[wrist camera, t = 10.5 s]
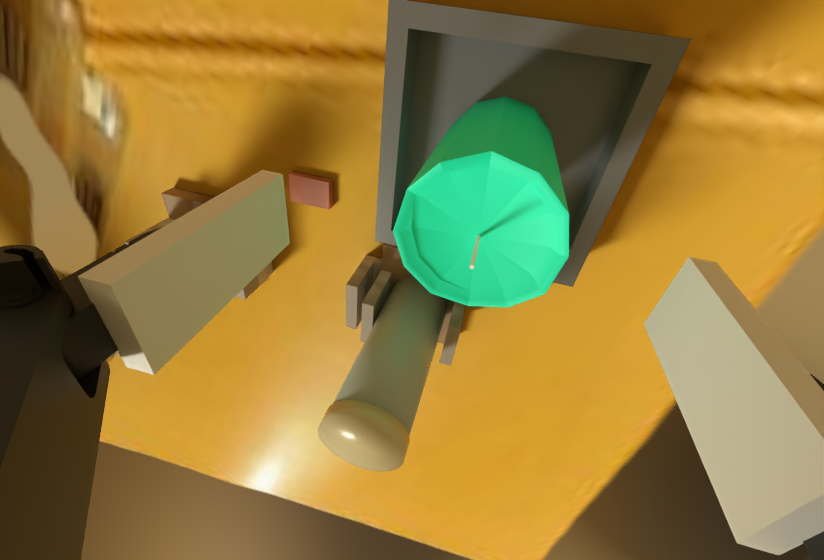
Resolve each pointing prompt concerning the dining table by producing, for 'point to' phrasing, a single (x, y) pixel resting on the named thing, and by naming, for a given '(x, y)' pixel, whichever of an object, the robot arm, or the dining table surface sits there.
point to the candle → (487, 209)
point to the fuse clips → (365, 284)
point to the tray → (521, 99)
